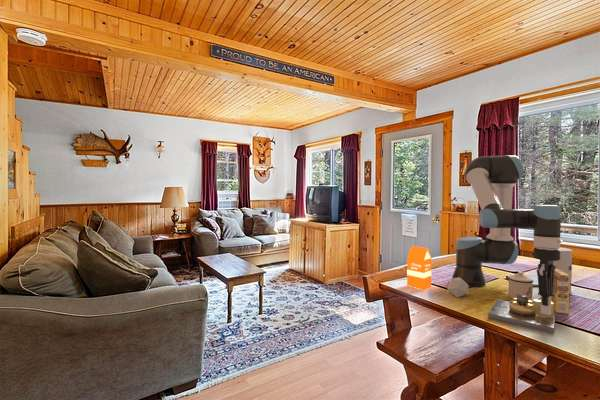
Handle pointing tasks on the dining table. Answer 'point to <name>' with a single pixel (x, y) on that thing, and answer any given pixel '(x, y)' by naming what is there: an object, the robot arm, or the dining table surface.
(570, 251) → the container
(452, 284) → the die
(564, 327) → the dining table surface
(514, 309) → the beige lumpy block
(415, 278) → the orange juice
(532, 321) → the flange plate
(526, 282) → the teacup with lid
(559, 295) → the candy box
